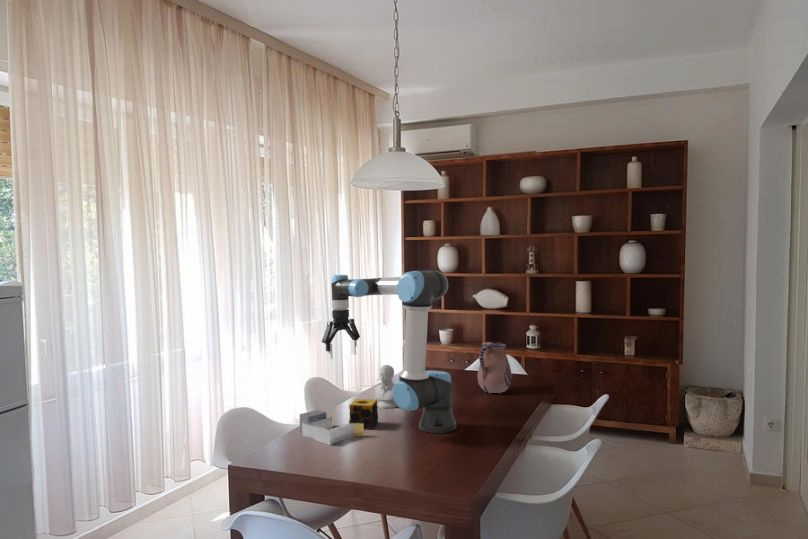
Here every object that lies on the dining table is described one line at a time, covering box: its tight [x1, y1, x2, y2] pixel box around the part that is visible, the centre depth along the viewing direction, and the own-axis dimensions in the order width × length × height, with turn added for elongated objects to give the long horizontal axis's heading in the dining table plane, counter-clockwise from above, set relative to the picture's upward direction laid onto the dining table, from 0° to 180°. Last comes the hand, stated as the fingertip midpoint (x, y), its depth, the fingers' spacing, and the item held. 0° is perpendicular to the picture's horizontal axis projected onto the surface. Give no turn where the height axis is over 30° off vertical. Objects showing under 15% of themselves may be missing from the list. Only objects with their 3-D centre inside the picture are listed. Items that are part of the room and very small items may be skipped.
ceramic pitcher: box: [476, 341, 513, 394], centre depth 285 cm, size 18×21×25 cm
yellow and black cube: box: [348, 398, 379, 430], centre depth 233 cm, size 10×10×10 cm
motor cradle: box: [299, 409, 365, 446], centre depth 222 cm, size 24×16×7 cm
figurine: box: [374, 364, 398, 409], centre depth 263 cm, size 9×13×20 cm
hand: (341, 356), depth 251 cm, fingers open, 13 cm apart
